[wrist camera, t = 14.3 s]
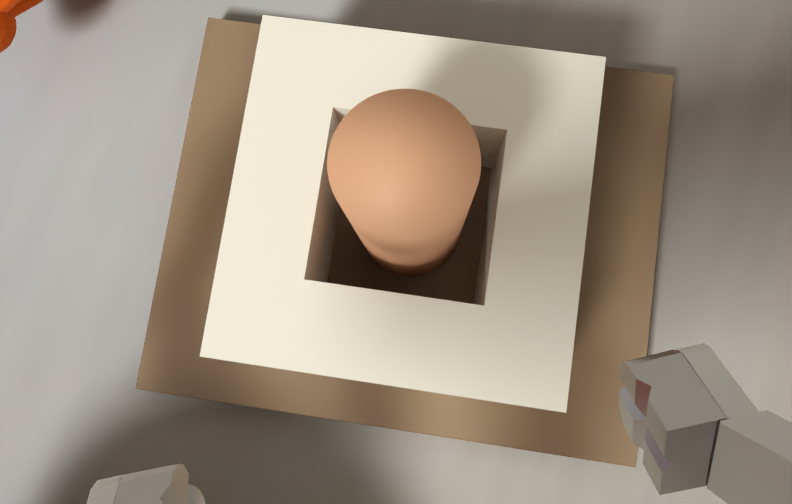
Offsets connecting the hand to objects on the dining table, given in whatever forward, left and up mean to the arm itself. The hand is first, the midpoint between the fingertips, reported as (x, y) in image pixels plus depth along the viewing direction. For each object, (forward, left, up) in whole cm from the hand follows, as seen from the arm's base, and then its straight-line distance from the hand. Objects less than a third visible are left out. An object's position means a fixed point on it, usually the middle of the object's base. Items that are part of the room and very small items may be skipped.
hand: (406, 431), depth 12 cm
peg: (+1, -6, -14) cm, 15 cm away
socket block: (+1, -6, -15) cm, 16 cm away
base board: (+1, -6, -15) cm, 16 cm away
